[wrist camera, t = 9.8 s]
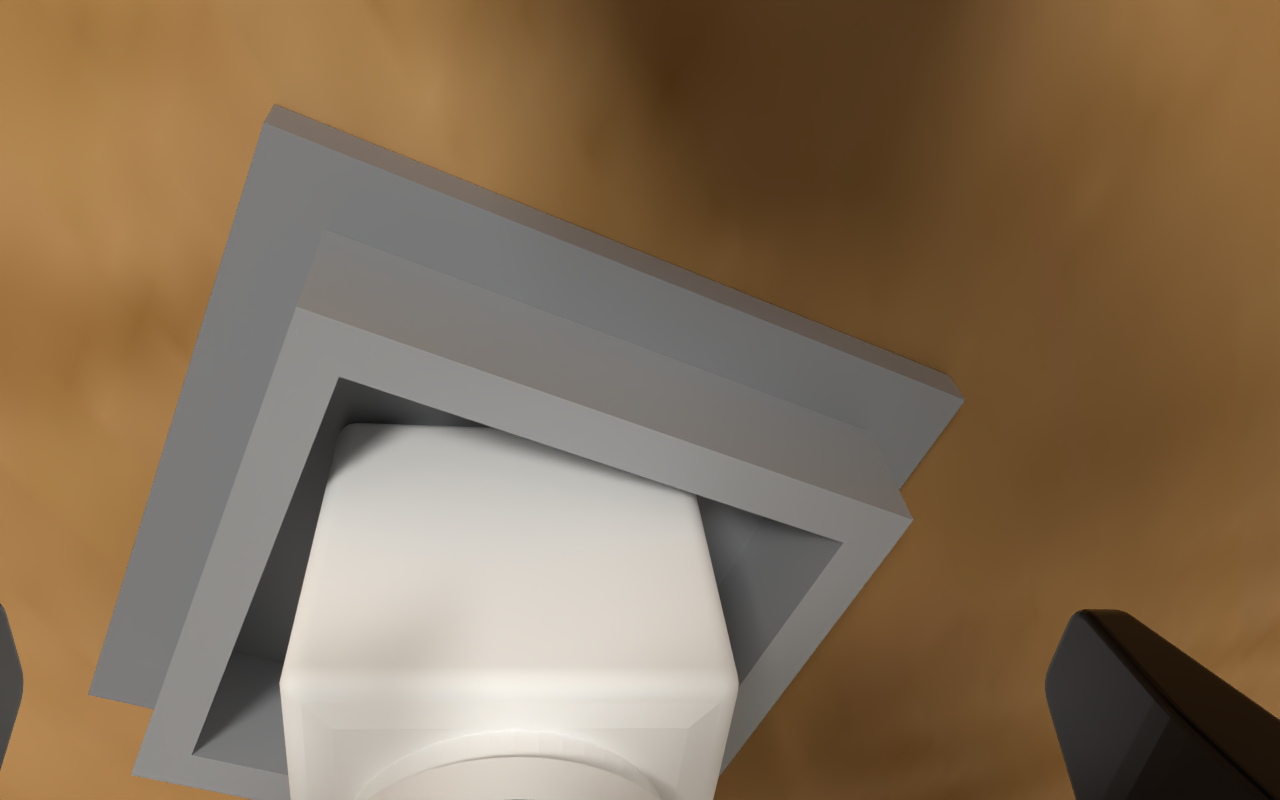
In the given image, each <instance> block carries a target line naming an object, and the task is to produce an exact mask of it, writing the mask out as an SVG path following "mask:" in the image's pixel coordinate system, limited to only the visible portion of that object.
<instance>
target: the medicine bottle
mask: <svg viewBox="0 0 1280 800" xmlns="http://www.w3.org/2000/svg"><path fill="white" fill-rule="evenodd" d="M279 684H280V694H281V705H282V715H283V725H284V736H285V746H286V756H287V767H288V777H289V788H290V798H291V800H713V798H714V794H715V790H716V785H717V781H718V777H719V772H720V768H721V764H722V759H723V755H724V751H725V746H726V742H727V738H728V733H729V729H730V724H731V720H732V716H733V711H734V707H735V703H736V698H737V694H738V686H739V682H738V675H737V671H736V666H735V662H734V658H733V653H732V649H731V645H730V640H729V636H728V632H727V627H726V623H725V619H724V614H723V610H722V606H721V602H720V597H719V593H718V589H717V584H716V580H715V576H714V571H713V567H712V563H711V558H710V554H709V550H708V545H707V541H706V537H705V532H704V528H703V524H702V519H701V515H700V511H699V506H698V502H697V498H696V494H694V493H691V492H688V491H685V490H682V489H678V488H675V487H672V486H669V485H666V484H663V483H660V482H657V481H654V480H651V479H648V478H645V477H642V476H639V475H636V474H633V473H630V472H627V471H624V470H621V469H618V468H615V467H612V466H609V465H606V464H603V463H600V462H597V461H594V460H590V459H587V458H584V457H581V456H578V455H575V454H572V453H569V452H566V451H563V450H560V449H557V448H554V447H551V446H548V445H545V444H542V443H539V442H536V441H533V440H530V439H527V438H524V437H521V436H518V435H515V434H512V433H509V432H505V431H502V430H499V429H496V428H484V427H456V426H428V425H400V424H373V423H353V424H348V425H347V426H346V427H344V428H343V429H342V430H341V431H340V433H339V435H338V438H337V442H336V446H335V451H334V455H333V459H332V463H331V467H330V472H329V476H328V480H327V484H326V489H325V493H324V497H323V501H322V505H321V510H320V514H319V518H318V522H317V526H316V531H315V535H314V539H313V543H312V547H311V552H310V556H309V560H308V564H307V569H306V573H305V577H304V581H303V585H302V590H301V594H300V598H299V602H298V606H297V611H296V615H295V619H294V623H293V627H292V632H291V636H290V640H289V644H288V649H287V653H286V657H285V661H284V665H283V670H282V674H281V678H280V682H279Z"/></svg>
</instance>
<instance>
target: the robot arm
mask: <svg viewBox="0 0 1280 800" xmlns="http://www.w3.org/2000/svg"><path fill="white" fill-rule="evenodd" d="M1045 692H1046V699H1047V703H1048V706H1049V710H1050V713H1051V716H1052V720H1053V723H1054V727H1055V730H1056V733H1057V737H1058V740H1059V744H1060V747H1061V750H1062V754H1063V757H1064V761H1065V764H1066V767H1067V771H1068V774H1069V777H1070V781H1071V784H1072V788H1073V791H1074V794H1075V798H1076V800H1280V720H1279V719H1278V718H1276V717H1275V716H1273V715H1272V714H1271V713H1269V712H1268V711H1266V710H1265V709H1264V708H1262V707H1261V706H1259V705H1258V704H1256V703H1255V702H1254V701H1252V700H1251V699H1249V698H1248V697H1246V696H1245V695H1244V694H1242V693H1241V692H1239V691H1238V690H1236V689H1235V688H1234V687H1232V686H1231V685H1229V684H1228V683H1227V682H1225V681H1224V680H1222V679H1221V678H1219V677H1218V676H1217V675H1215V674H1214V673H1212V672H1211V671H1209V670H1208V669H1207V668H1205V667H1204V666H1202V665H1201V664H1199V663H1198V662H1197V661H1195V660H1194V659H1192V658H1191V657H1190V656H1188V655H1187V654H1185V653H1184V652H1182V651H1181V650H1180V649H1178V648H1177V647H1175V646H1174V645H1172V644H1171V643H1170V642H1168V641H1167V640H1165V639H1164V638H1162V637H1161V636H1160V635H1158V634H1157V633H1155V632H1154V631H1153V630H1151V629H1150V628H1148V627H1147V626H1145V625H1144V624H1143V623H1141V622H1140V621H1138V620H1137V619H1135V618H1134V617H1133V616H1131V615H1129V614H1128V613H1126V612H1124V611H1120V610H1107V609H1084V610H1080V611H1078V612H1076V613H1075V614H1074V615H1073V616H1072V617H1071V619H1070V620H1069V622H1068V625H1067V627H1066V629H1065V631H1064V634H1063V636H1062V638H1061V641H1060V643H1059V645H1058V647H1057V650H1056V652H1055V654H1054V656H1053V659H1052V661H1051V663H1050V666H1049V668H1048V671H1047V674H1046V680H1045ZM22 693H23V673H22V668H21V664H20V661H19V657H18V654H17V650H16V646H15V643H14V639H13V636H12V632H11V629H10V625H9V622H8V618H7V615H6V612H5V610H4V608H3V606H2V605H1V604H0V769H1V766H2V763H3V759H4V756H5V753H6V750H7V746H8V743H9V740H10V736H11V733H12V730H13V726H14V723H15V720H16V716H17V713H18V710H19V706H20V703H21V699H22Z"/></svg>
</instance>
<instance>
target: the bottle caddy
mask: <svg viewBox="0 0 1280 800" xmlns="http://www.w3.org/2000/svg"><path fill="white" fill-rule="evenodd" d="M964 401H965V399H964V397H963V396H962V394H961V393H960V391H959V390H958V388H957V386H956V385H955V383H954V382H953V380H952V379H951V377H950V376H949V375H946V374H944V373H941V372H939V371H936V370H934V369H931V368H929V367H926V366H924V365H922V364H919V363H917V362H914V361H912V360H909V359H907V358H904V357H902V356H899V355H897V354H894V353H892V352H889V351H887V350H884V349H882V348H879V347H877V346H874V345H872V344H869V343H867V342H864V341H862V340H859V339H857V338H854V337H852V336H849V335H847V334H844V333H842V332H839V331H837V330H835V329H832V328H830V327H827V326H825V325H822V324H820V323H817V322H815V321H812V320H810V319H807V318H805V317H802V316H800V315H797V314H795V313H792V312H790V311H787V310H785V309H782V308H780V307H777V306H775V305H772V304H770V303H767V302H765V301H762V300H760V299H757V298H755V297H753V296H750V295H748V294H745V293H743V292H740V291H738V290H735V289H733V288H730V287H728V286H725V285H723V284H720V283H718V282H715V281H713V280H710V279H708V278H705V277H703V276H700V275H698V274H695V273H693V272H690V271H688V270H685V269H683V268H680V267H678V266H675V265H673V264H670V263H668V262H666V261H663V260H661V259H658V258H656V257H653V256H651V255H648V254H646V253H643V252H641V251H638V250H636V249H633V248H631V247H628V246H626V245H623V244H621V243H618V242H616V241H613V240H611V239H608V238H606V237H603V236H601V235H598V234H596V233H593V232H591V231H588V230H586V229H584V228H581V227H579V226H576V225H574V224H571V223H569V222H566V221H564V220H561V219H559V218H556V217H554V216H551V215H549V214H546V213H544V212H541V211H539V210H536V209H534V208H531V207H529V206H526V205H524V204H521V203H519V202H516V201H514V200H511V199H509V198H506V197H504V196H501V195H499V194H497V193H494V192H492V191H489V190H487V189H484V188H482V187H479V186H477V185H474V184H472V183H469V182H467V181H464V180H462V179H459V178H457V177H454V176H452V175H449V174H447V173H444V172H442V171H439V170H437V169H434V168H432V167H429V166H427V165H424V164H422V163H419V162H417V161H415V160H412V159H410V158H407V157H405V156H402V155H400V154H397V153H395V152H392V151H390V150H387V149H385V148H382V147H380V146H377V145H375V144H372V143H370V142H367V141H365V140H362V139H360V138H357V137H355V136H352V135H350V134H347V133H345V132H342V131H340V130H337V129H335V128H332V127H330V126H328V125H325V124H323V123H320V122H318V121H315V120H313V119H310V118H308V117H305V116H303V115H300V114H298V113H295V112H293V111H290V110H288V109H285V108H283V107H280V106H278V105H275V104H274V106H273V108H272V109H271V111H270V113H269V115H268V116H267V118H266V120H265V121H264V124H263V127H262V130H261V133H260V137H259V140H258V143H257V146H256V150H255V153H254V156H253V159H252V163H251V166H250V169H249V172H248V176H247V179H246V182H245V185H244V189H243V192H242V195H241V198H240V202H239V205H238V208H237V211H236V215H235V218H234V221H233V225H232V228H231V231H230V234H229V238H228V241H227V244H226V247H225V251H224V254H223V257H222V260H221V264H220V267H219V270H218V273H217V277H216V280H215V283H214V286H213V290H212V293H211V296H210V299H209V303H208V306H207V309H206V312H205V316H204V319H203V322H202V325H201V329H200V332H199V335H198V338H197V342H196V345H195V348H194V352H193V355H192V358H191V361H190V365H189V368H188V371H187V374H186V378H185V381H184V384H183V387H182V391H181V394H180V397H179V400H178V404H177V407H176V410H175V413H174V417H173V420H172V423H171V426H170V430H169V433H168V436H167V439H166V443H165V446H164V449H163V452H162V456H161V459H160V462H159V465H158V469H157V472H156V475H155V479H154V482H153V485H152V488H151V492H150V495H149V498H148V501H147V505H146V508H145V511H144V514H143V518H142V521H141V524H140V527H139V531H138V534H137V537H136V540H135V544H134V547H133V550H132V553H131V557H130V560H129V563H128V566H127V570H126V573H125V576H124V579H123V583H122V586H121V589H120V592H119V596H118V599H117V602H116V606H115V609H114V612H113V615H112V619H111V622H110V625H109V628H108V632H107V635H106V638H105V641H104V645H103V648H102V651H101V654H100V658H99V661H98V664H97V667H96V671H95V674H94V677H93V680H92V684H91V687H90V690H89V693H88V695H92V696H96V697H101V698H105V699H110V700H114V701H119V702H124V703H128V704H133V705H137V706H142V707H146V708H151V709H154V711H153V714H152V717H151V720H150V722H149V725H148V728H147V731H146V734H145V737H144V739H143V742H142V745H141V748H140V751H139V754H138V756H137V759H136V762H135V765H134V768H133V771H132V773H131V775H133V776H138V777H143V778H148V779H153V780H158V781H163V782H168V783H173V784H179V785H184V786H189V787H194V788H199V789H204V790H209V791H214V792H219V793H224V794H229V795H234V796H239V797H244V798H249V799H254V800H291V798H290V788H289V777H288V767H287V756H286V746H285V736H284V725H283V715H282V705H281V694H280V684H279V682H280V678H281V674H282V670H283V665H284V661H285V657H286V653H287V649H288V644H289V640H290V636H291V632H292V627H293V623H294V619H295V615H296V611H297V606H298V602H299V598H300V594H301V590H302V585H303V581H304V577H305V573H306V569H307V564H308V560H309V556H310V552H311V547H312V543H313V539H314V535H315V531H316V526H317V522H318V518H319V514H320V510H321V505H322V501H323V497H324V493H325V489H326V484H327V480H328V476H329V472H330V467H331V463H332V459H333V455H334V451H335V446H336V442H337V438H338V435H339V433H340V431H341V430H342V429H343V428H344V427H346V426H347V425H348V424H353V423H373V424H400V425H428V426H456V427H484V428H496V429H499V430H502V431H505V432H509V433H512V434H515V435H518V436H521V437H524V438H527V439H530V440H533V441H536V442H539V443H542V444H545V445H548V446H551V447H554V448H557V449H560V450H563V451H566V452H569V453H572V454H575V455H578V456H581V457H584V458H587V459H590V460H594V461H597V462H600V463H603V464H606V465H609V466H612V467H615V468H618V469H621V470H624V471H627V472H630V473H633V474H636V475H639V476H642V477H645V478H648V479H651V480H654V481H657V482H660V483H663V484H666V485H669V486H672V487H675V488H678V489H682V490H685V491H688V492H691V493H694V494H696V498H697V502H698V506H699V511H700V515H701V519H702V524H703V528H704V532H705V537H706V541H707V545H708V550H709V554H710V558H711V563H712V567H713V571H714V576H715V580H716V584H717V589H718V593H719V597H720V602H721V606H722V610H723V614H724V619H725V623H726V627H727V632H728V636H729V640H730V645H731V649H732V653H733V658H734V662H735V666H736V671H737V675H738V682H739V686H738V694H737V698H736V703H735V707H734V711H733V716H732V720H731V724H730V729H729V733H728V738H727V742H726V746H725V751H724V755H723V759H722V764H721V768H720V772H719V777H720V775H721V774H722V773H723V771H724V770H725V769H726V767H727V766H728V765H729V763H730V762H731V761H732V759H733V758H734V757H735V755H736V754H737V753H738V751H739V750H740V749H741V748H742V746H743V745H744V744H745V742H746V741H747V740H748V738H749V737H750V736H751V734H752V733H753V732H754V730H755V729H756V728H757V726H758V725H759V724H760V722H761V721H762V720H763V718H764V717H765V716H766V714H767V713H768V712H769V710H770V709H771V708H772V707H773V705H774V704H775V703H776V701H777V700H778V699H779V697H780V696H781V695H782V693H783V692H784V691H785V689H786V688H787V687H788V685H789V684H790V683H791V681H792V680H793V679H794V677H795V676H796V675H797V673H798V672H799V671H800V669H801V668H802V667H803V665H804V664H805V663H806V662H807V660H808V659H809V658H810V656H811V655H812V654H813V652H814V651H815V650H816V648H817V647H818V646H819V644H820V643H821V642H822V640H823V639H824V638H825V636H826V635H827V634H828V632H829V631H830V630H831V628H832V627H833V626H834V624H835V623H836V622H837V621H838V619H839V618H840V617H841V615H842V614H843V613H844V611H845V610H846V609H847V607H848V606H849V605H850V603H851V602H852V601H853V599H854V598H855V597H856V595H857V594H858V593H859V591H860V590H861V589H862V587H863V586H864V585H865V583H866V582H867V581H868V580H869V578H870V577H871V576H872V574H873V573H874V572H875V570H876V569H877V568H878V566H879V565H880V564H881V562H882V561H883V560H884V558H885V557H886V556H887V554H888V553H889V552H890V550H891V549H892V548H893V546H894V545H895V544H896V542H897V541H898V540H899V538H900V537H901V536H902V535H903V533H904V532H905V531H906V529H907V528H908V527H909V525H910V524H911V523H912V521H913V518H912V516H911V514H910V512H909V510H908V508H907V506H906V504H905V502H904V500H903V498H902V496H901V493H900V491H899V490H900V488H901V487H902V486H903V484H904V483H905V482H906V480H907V479H908V478H909V476H910V475H911V473H912V472H913V471H914V469H915V468H916V467H917V465H918V464H919V463H920V461H921V460H922V458H923V457H924V456H925V454H926V453H927V452H928V450H929V449H930V448H931V446H932V445H933V444H934V442H935V441H936V439H937V438H938V437H939V435H940V434H941V433H942V431H943V430H944V429H945V427H946V426H947V424H948V423H949V422H950V420H951V419H952V418H953V416H954V415H955V414H956V412H957V411H958V409H959V408H960V407H961V405H962V404H963V403H964ZM719 777H718V778H719Z"/></svg>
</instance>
